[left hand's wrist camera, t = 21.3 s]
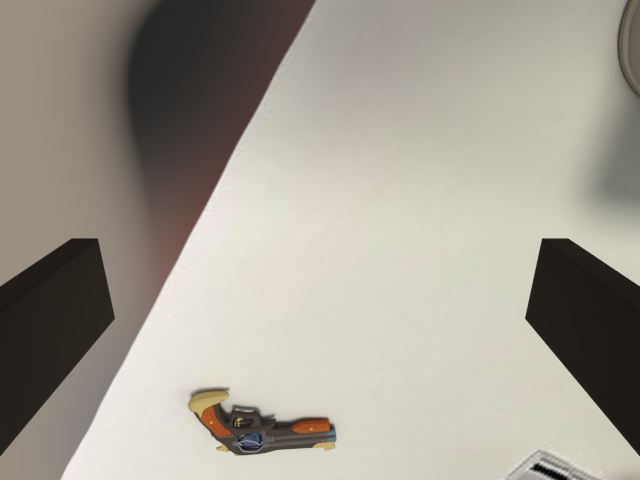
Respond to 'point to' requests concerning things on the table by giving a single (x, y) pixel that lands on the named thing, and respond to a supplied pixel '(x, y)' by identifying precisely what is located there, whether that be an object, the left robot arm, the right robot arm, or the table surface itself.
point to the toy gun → (257, 429)
